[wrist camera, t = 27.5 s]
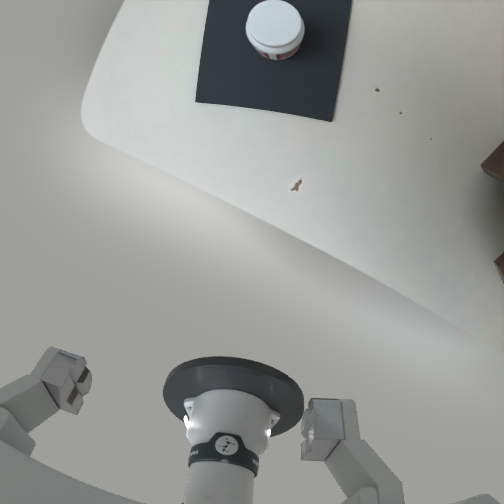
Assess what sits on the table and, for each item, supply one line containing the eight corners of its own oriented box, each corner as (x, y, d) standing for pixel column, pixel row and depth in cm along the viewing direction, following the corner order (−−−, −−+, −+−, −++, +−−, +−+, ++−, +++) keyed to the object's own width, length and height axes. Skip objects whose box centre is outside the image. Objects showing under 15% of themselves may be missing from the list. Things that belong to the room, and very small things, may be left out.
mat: (330, 121, 30) (331, 122, 29) (196, 101, 30) (195, 102, 30) (352, -15, 22) (353, -16, 21) (216, -33, 22) (215, -35, 22)
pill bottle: (302, 20, 24) (309, -2, 17) (298, 62, 27) (305, 53, 19) (253, 16, 25) (244, -7, 17) (250, 58, 27) (239, 48, 20)
